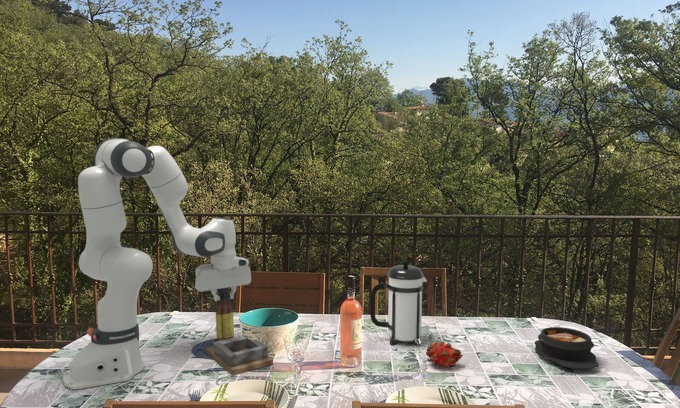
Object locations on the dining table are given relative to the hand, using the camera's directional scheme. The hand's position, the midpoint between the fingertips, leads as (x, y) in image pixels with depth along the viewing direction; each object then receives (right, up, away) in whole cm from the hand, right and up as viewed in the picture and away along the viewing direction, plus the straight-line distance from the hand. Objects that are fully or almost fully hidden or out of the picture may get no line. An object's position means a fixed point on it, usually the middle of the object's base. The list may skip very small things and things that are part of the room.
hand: (224, 299), depth 177 cm
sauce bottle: (0, -15, +1) cm, 15 cm away
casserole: (+117, -17, -14) cm, 119 cm away
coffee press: (+64, -16, +2) cm, 66 cm away
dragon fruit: (+75, -18, -20) cm, 80 cm away
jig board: (+8, -17, -15) cm, 24 cm away
